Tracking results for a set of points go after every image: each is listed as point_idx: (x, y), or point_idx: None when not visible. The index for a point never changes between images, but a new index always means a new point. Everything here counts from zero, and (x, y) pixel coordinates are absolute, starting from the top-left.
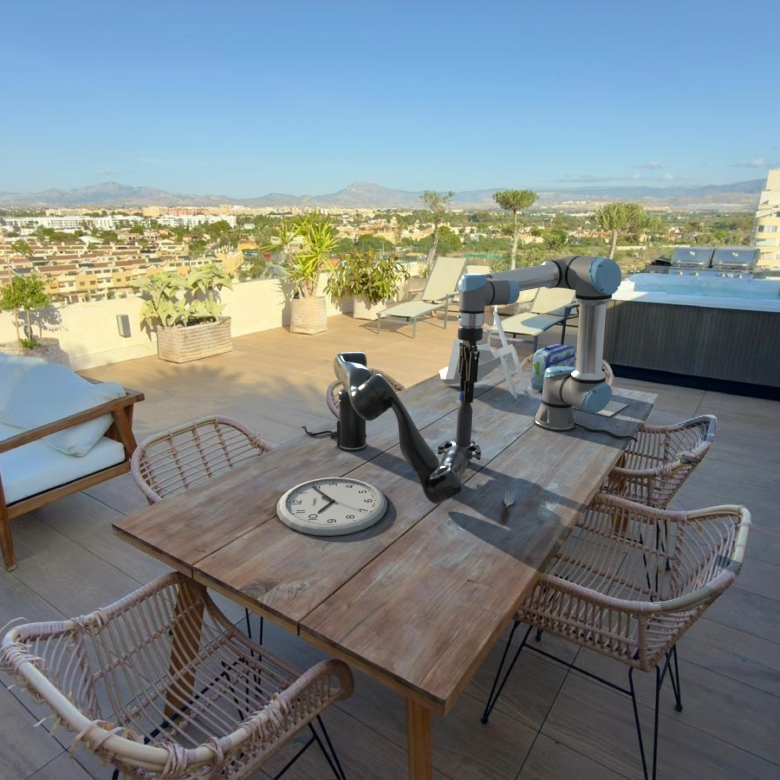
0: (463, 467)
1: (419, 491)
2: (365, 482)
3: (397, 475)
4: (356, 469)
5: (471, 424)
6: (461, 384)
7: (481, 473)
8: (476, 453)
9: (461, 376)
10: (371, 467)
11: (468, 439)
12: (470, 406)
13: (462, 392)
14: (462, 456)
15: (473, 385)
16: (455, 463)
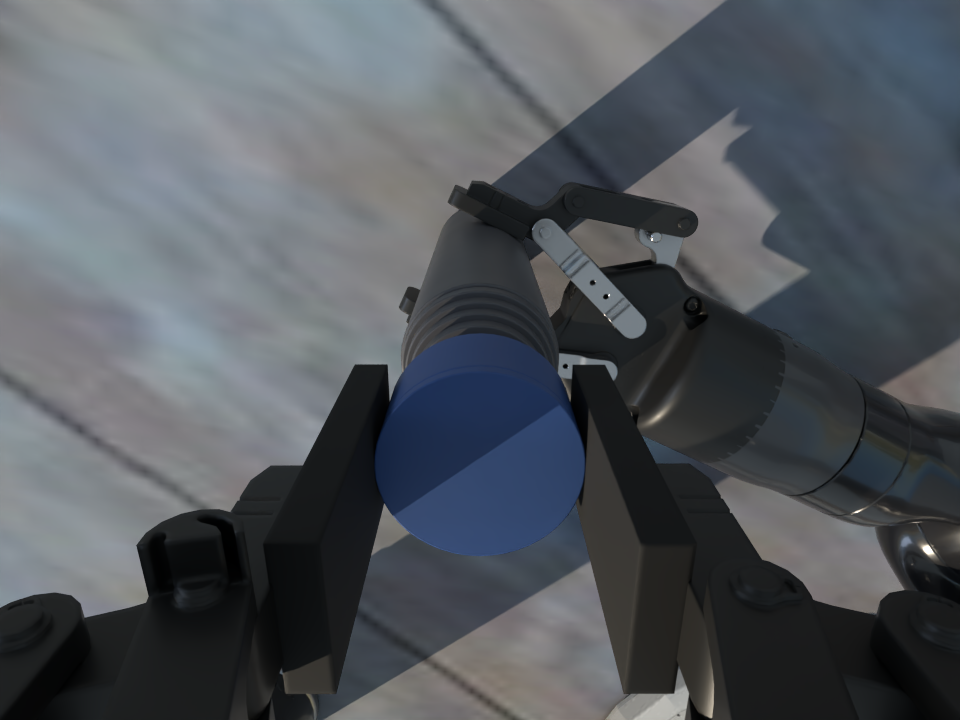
0: (856, 382)
1: (748, 514)
2: (662, 702)
3: (582, 571)
4: (499, 700)
5: (518, 266)
6: (358, 582)
7: (642, 177)
8: (663, 234)
9: (267, 693)
10: (488, 652)
11: (529, 262)
12: (531, 344)
13: (471, 520)
14: (813, 389)
15: (677, 512)
16: (908, 460)
